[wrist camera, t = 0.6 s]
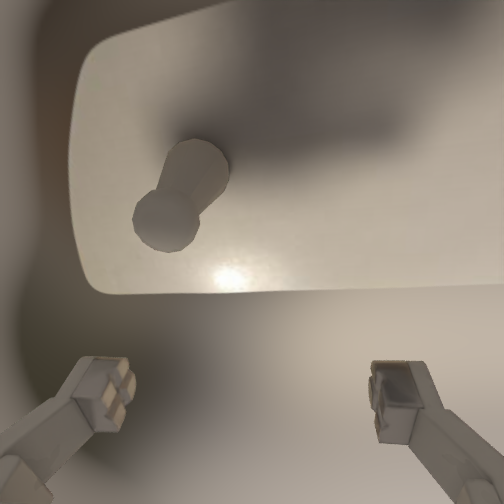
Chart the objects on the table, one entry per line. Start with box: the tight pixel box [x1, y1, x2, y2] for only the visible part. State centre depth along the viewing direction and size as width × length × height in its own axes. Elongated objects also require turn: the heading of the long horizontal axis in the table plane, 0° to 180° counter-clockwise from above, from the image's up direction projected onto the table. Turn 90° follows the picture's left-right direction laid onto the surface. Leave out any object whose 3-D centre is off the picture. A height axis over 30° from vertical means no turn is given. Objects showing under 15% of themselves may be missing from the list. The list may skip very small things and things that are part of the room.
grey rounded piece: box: [132, 138, 229, 253], centre depth 27 cm, size 6×6×13 cm
